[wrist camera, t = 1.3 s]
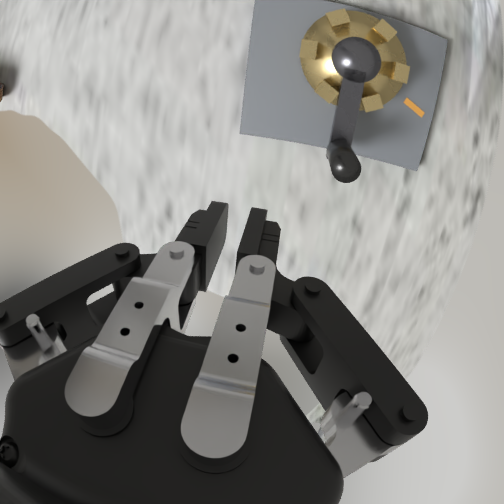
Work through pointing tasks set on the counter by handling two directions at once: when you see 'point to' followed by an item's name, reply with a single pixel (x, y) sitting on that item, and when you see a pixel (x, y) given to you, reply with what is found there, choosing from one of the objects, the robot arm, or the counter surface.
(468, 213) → the counter surface
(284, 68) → the base plate
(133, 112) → the counter surface
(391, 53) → the lever with gold dial
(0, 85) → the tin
